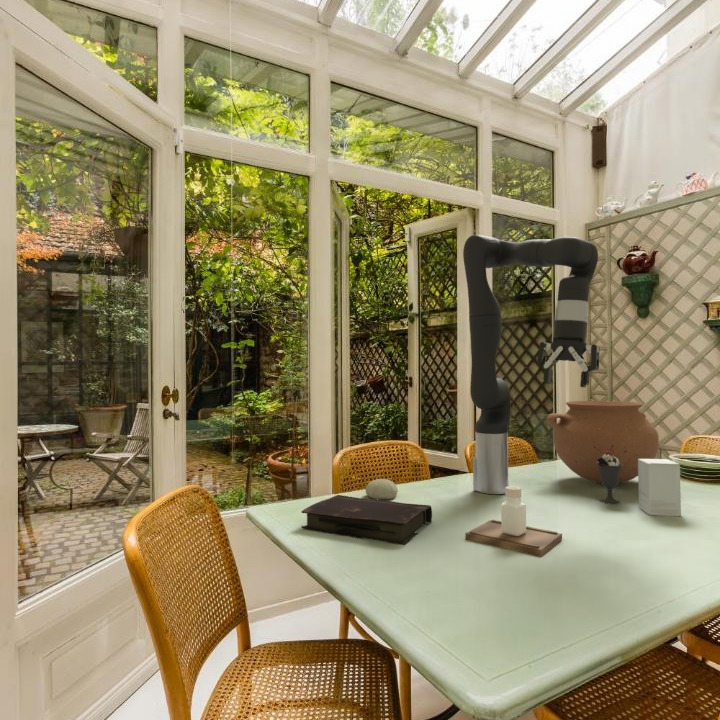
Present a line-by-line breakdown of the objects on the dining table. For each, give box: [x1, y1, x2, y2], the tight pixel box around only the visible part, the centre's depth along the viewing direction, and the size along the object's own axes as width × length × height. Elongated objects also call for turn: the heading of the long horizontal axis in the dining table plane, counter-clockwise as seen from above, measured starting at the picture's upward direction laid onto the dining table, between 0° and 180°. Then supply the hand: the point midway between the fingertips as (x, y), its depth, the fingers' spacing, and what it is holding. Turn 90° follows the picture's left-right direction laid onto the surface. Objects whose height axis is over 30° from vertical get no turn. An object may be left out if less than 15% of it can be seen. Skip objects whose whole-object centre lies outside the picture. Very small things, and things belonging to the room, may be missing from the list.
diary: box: [300, 494, 433, 546], centre depth 116 cm, size 19×25×5 cm
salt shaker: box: [500, 485, 527, 536], centre depth 106 cm, size 4×4×10 cm
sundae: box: [596, 445, 623, 505], centre depth 136 cm, size 7×7×15 cm
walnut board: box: [464, 519, 563, 557], centre depth 106 cm, size 16×12×2 cm
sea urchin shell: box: [365, 478, 398, 500], centre depth 143 cm, size 9×8×8 cm
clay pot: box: [546, 400, 660, 485], centre depth 158 cm, size 34×30×25 cm
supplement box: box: [637, 458, 682, 517], centre depth 126 cm, size 7×7×13 cm
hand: (565, 385), depth 125 cm, fingers open, 8 cm apart
